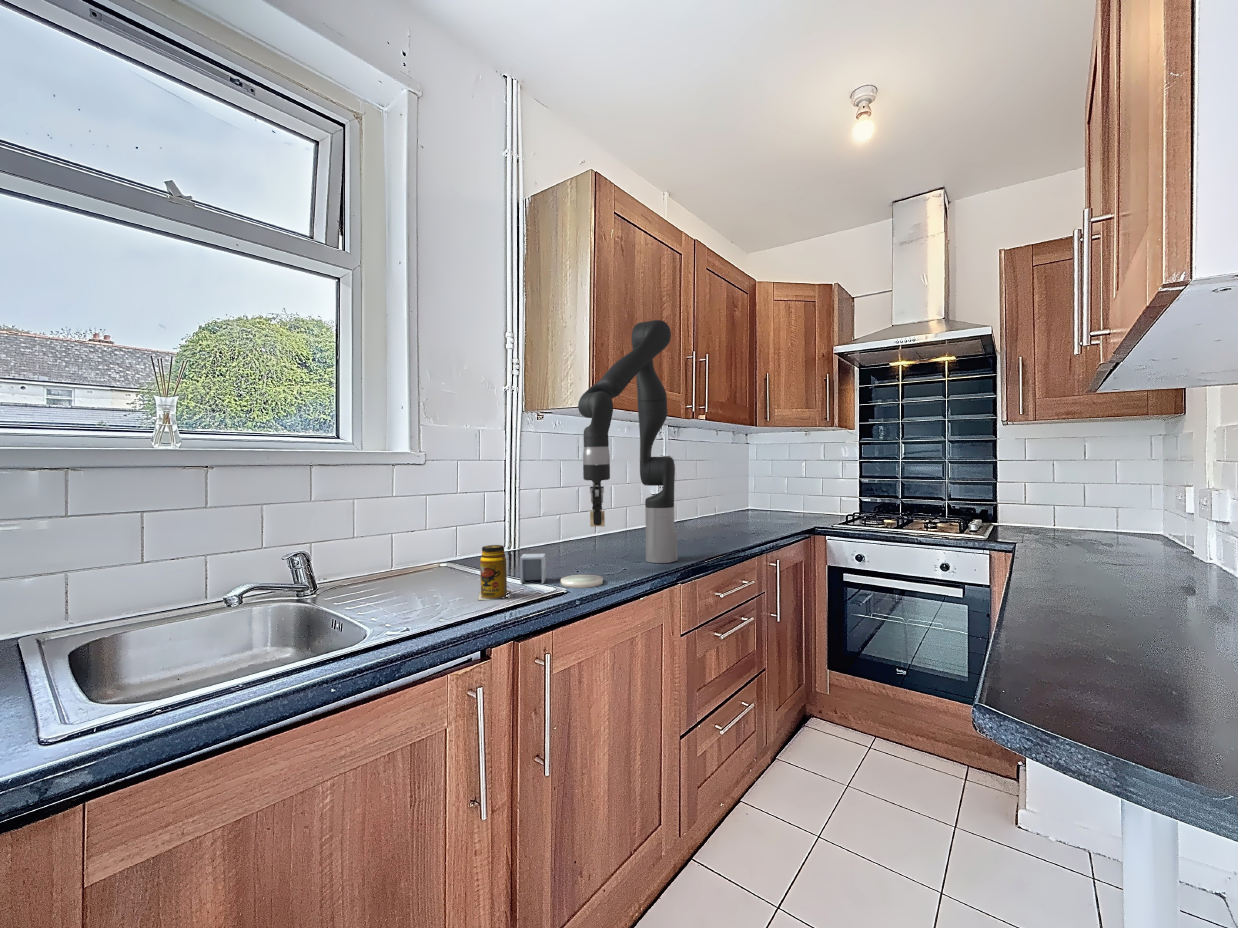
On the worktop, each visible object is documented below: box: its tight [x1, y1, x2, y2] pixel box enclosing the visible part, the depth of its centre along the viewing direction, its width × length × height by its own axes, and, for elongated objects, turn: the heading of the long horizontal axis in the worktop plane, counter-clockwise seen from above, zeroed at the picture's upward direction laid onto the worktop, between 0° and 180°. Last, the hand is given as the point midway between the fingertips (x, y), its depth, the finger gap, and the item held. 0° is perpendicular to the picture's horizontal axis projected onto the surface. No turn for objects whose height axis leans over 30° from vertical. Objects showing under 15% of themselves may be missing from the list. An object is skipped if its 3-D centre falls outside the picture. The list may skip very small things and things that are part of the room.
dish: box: [560, 574, 604, 589], centre depth 146 cm, size 11×11×1 cm
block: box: [589, 510, 606, 528], centre depth 157 cm, size 4×4×4 cm
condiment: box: [478, 544, 511, 601], centre depth 133 cm, size 7×8×12 cm
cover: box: [519, 553, 547, 584], centre depth 148 cm, size 6×6×7 cm
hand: (597, 523), depth 157 cm, fingers closed on block, 4 cm apart
